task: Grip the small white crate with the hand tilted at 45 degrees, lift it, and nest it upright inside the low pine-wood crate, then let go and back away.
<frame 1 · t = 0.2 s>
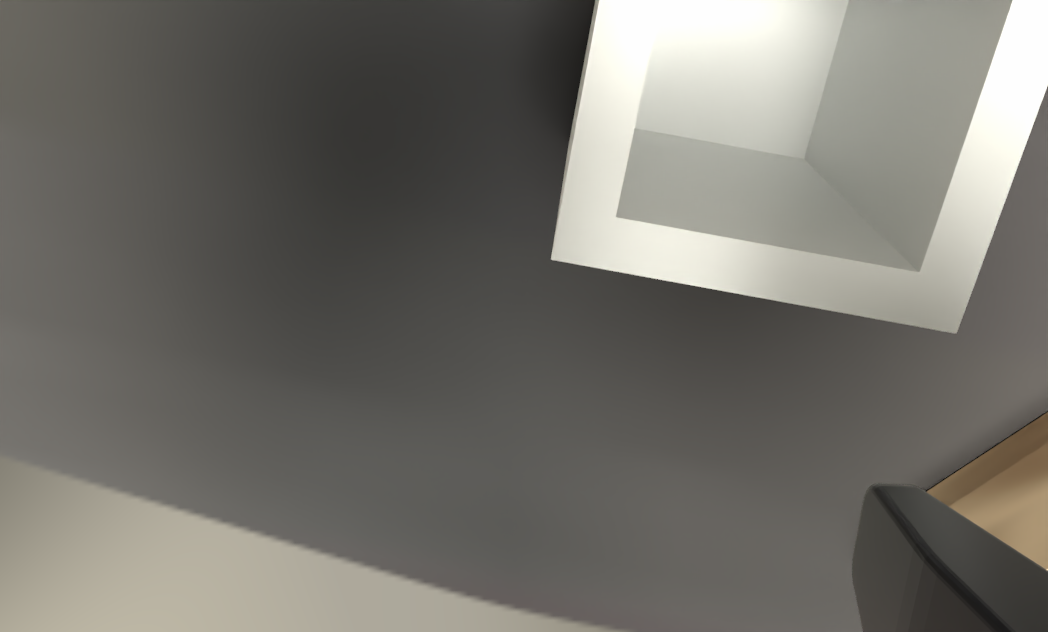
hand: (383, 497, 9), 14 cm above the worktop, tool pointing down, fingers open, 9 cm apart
white crate: (725, 36, 21), on the worktop
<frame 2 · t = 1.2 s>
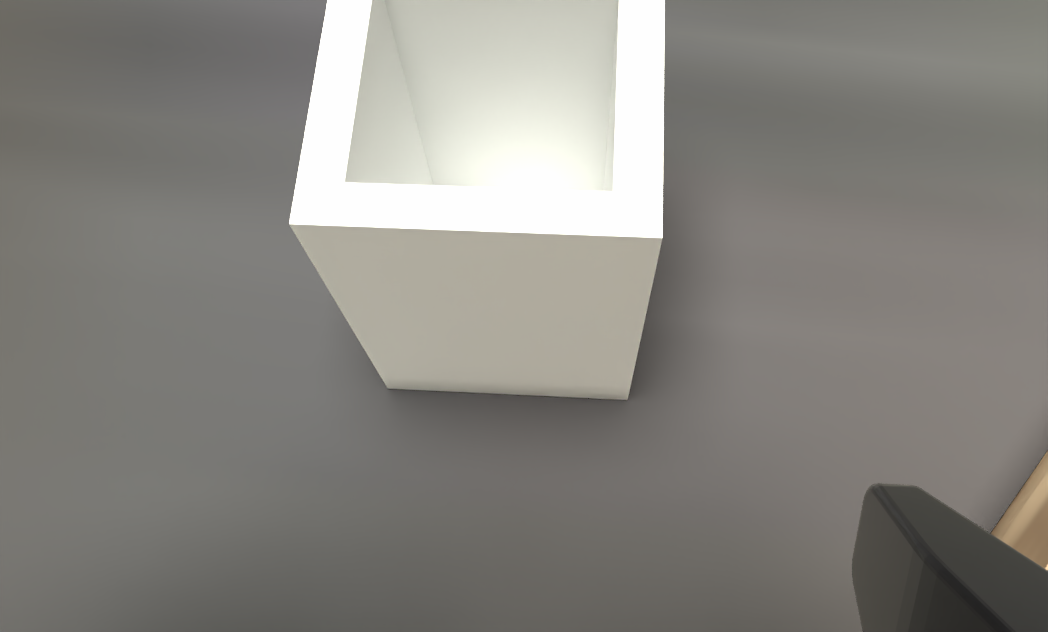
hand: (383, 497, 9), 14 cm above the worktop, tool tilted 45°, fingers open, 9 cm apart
white crate: (514, 283, 24), on the worktop
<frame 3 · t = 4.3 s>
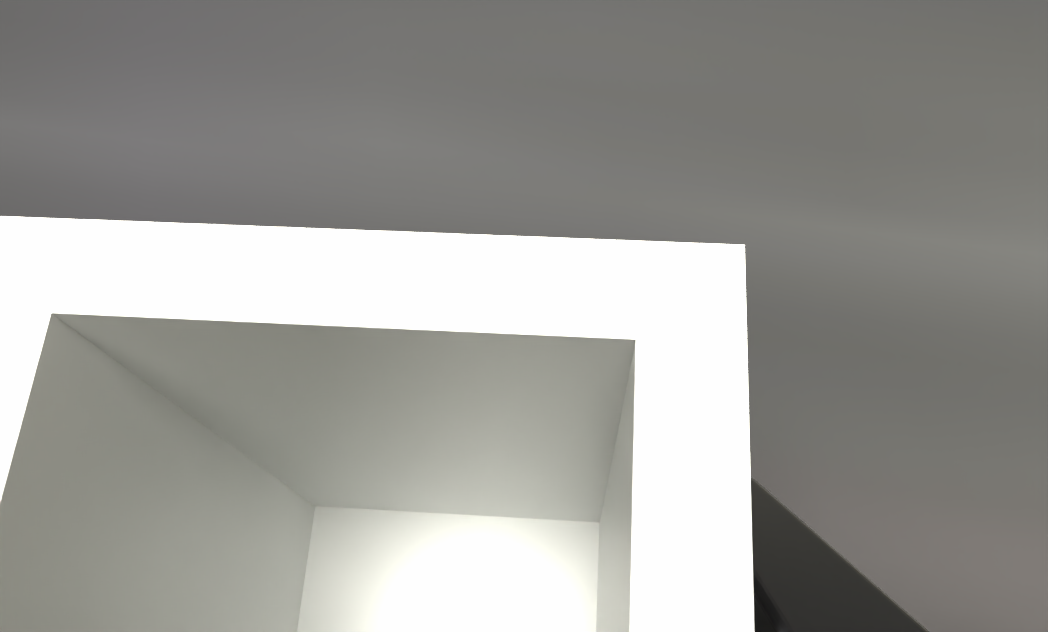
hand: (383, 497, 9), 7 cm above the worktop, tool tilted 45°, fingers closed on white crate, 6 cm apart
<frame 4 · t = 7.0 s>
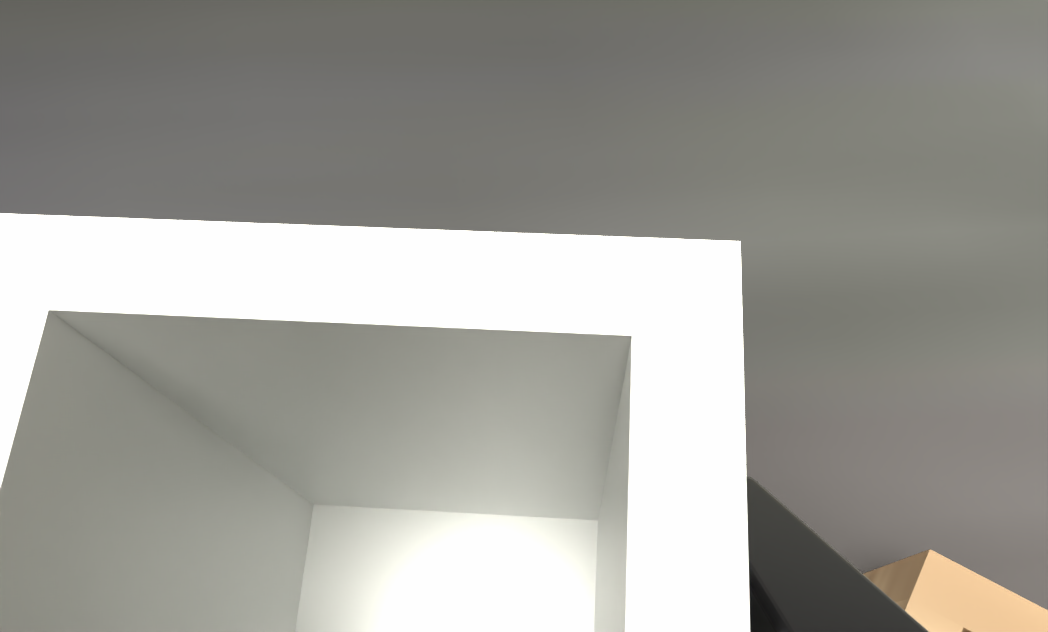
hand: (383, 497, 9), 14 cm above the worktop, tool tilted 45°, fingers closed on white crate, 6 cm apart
when the fingers open (9 cm above the worktop, at t = 9.7 s): white crate drops 1 cm, resting on pine crate.
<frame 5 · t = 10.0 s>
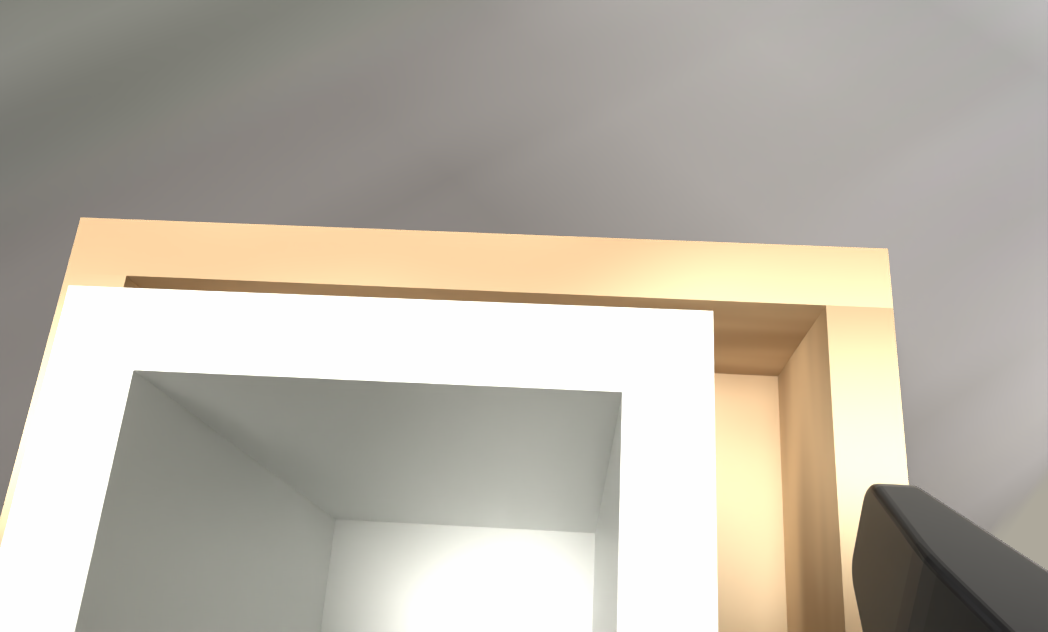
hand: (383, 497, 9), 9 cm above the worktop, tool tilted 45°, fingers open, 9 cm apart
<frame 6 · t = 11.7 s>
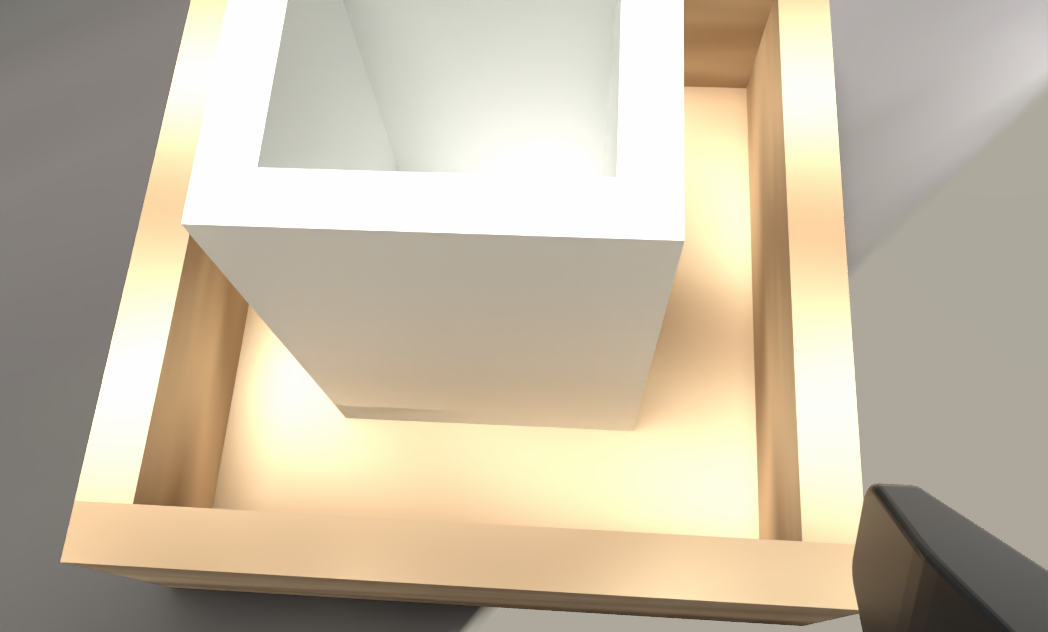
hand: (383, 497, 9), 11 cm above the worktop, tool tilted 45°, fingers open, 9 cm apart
pine crate: (501, 310, 21), on the worktop
white crate: (497, 291, 21), point 1 cm above the worktop, touching pine crate
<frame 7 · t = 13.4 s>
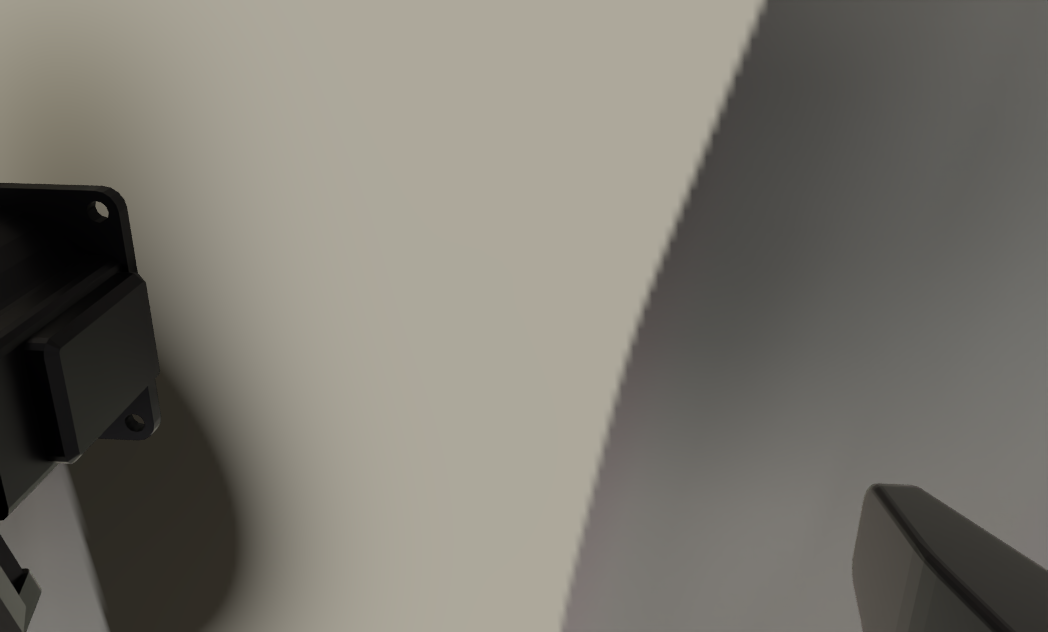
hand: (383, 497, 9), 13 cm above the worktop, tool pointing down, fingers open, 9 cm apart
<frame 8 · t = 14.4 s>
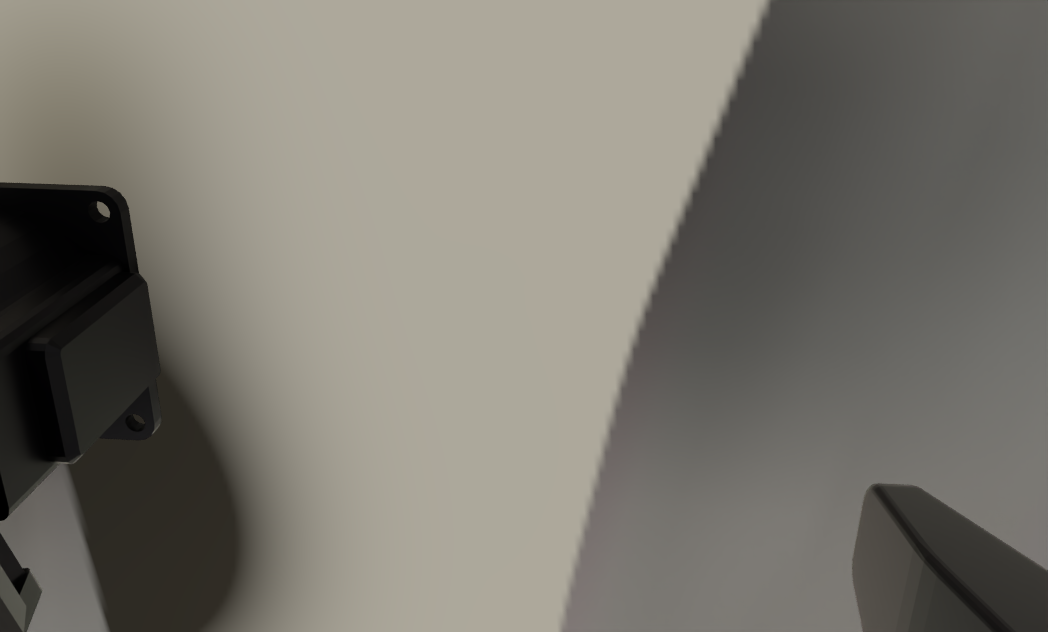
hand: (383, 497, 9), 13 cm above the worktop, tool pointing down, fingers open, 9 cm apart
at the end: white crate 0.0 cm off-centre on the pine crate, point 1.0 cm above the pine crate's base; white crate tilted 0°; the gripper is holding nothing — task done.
